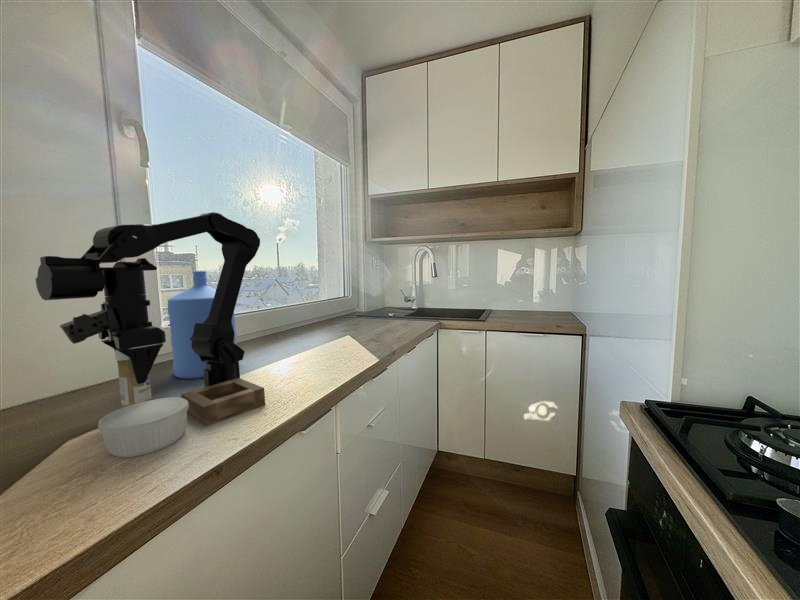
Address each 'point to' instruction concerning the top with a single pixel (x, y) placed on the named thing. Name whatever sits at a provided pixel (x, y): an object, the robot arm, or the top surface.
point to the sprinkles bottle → (131, 383)
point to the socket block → (223, 400)
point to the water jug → (190, 325)
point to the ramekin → (144, 426)
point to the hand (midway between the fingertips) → (134, 378)
